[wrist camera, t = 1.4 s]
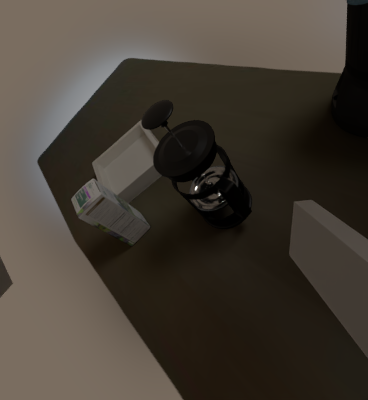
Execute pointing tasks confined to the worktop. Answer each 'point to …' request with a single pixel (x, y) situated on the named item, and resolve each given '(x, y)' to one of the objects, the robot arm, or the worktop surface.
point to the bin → (128, 164)
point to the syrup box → (109, 212)
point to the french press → (198, 166)
